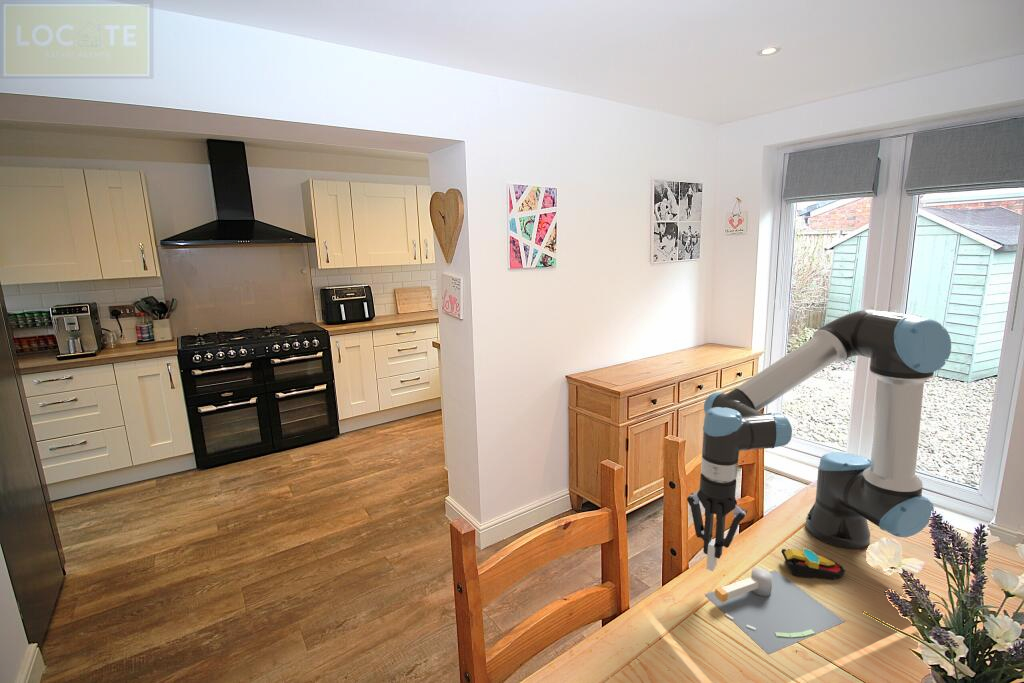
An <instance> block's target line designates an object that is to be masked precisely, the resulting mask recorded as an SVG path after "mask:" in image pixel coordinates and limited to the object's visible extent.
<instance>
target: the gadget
mask: <svg viewBox="0 0 1024 683" xmlns="http://www.w3.org/2000/svg"><path fill="white" fill-rule="evenodd" d="M780 551H781V554H782V556H783V558H784V561H785V563H786V565H787V567H788V569H789V571H790V574H791V575H792V576H795V577H800V578H806V579H819V580H828V581H829V580H830V581H833V580H834V579H840V578H841V577H842V576H844V574H845V572H846V570H845V569H844V568H843V566H842V565H841V564H839V563H838V562H836V561H835V560H833V559H832V558H828V557H824V556H823V555H818V554H817V553H815V552H814V551H813V550H812V549H809V548H805V547H803V548H802V549H801V550H798V549H797V550H796V549H793V548H792V549H791V548H790V549H787V550H786V549H785V548H782V549H781V550H780Z"/></svg>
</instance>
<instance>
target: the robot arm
mask: <svg viewBox="0 0 1024 683" xmlns="http://www.w3.org/2000/svg"><path fill="white" fill-rule="evenodd" d="M951 340H952V339H951V336H950V334H949V331H948V330H947V328H945V326H943V325H942V324H941V323H940V322H939V321H937V320H933V319H930V318H926V317H923V316H919V315H917V314H915V315H912V314H906V313H899V312H898V313H897V312H892V311H885V310H879V309H863V310H858V311H854V312H851V313H848V314H845V315H842V316H840V317H839V318H836V319H834V320H832V321H830V322H828V323H826V324H824V325H823V326H822V327H820V328H818V329H817V330H815V331H814V332H813V334H812V338H811V339H809V340H808V341H805V343H803V344H801V345H799V346H798V347H797V348H794V350H792V351H790V352H789V353H787V354H785V355H784V356H783V357H781V358H780V359H778V360H777V361H775V362H774V363H772V364H770V365H769V366H767V367H766V368H765V369H762V370H761V371H760V372H758V373H757V374H755V375H753V376H752V377H750V378H749V379H748V380H746V381H744V382H743V383H742V384H739V385H738V386H737V387H735V388H734V389H732V390H730V391H729V392H728V393H724V392H718V391H717V392H712V393H711V394H709V395H708V396H707V397H706V399H705V401H704V404H703V412H704V413H705V415H704V420H703V426H702V431H703V433H702V435H703V436H702V449H701V450H702V451H701V452H702V453H701V464H700V465H701V466H700V472H701V474H700V478H699V480H700V481H699V490H698V491H697V493H694V492H693V493H692V492H691V493H690V495H689V496H688V497H687V498H686V501H687V503H688V505H689V507H690V510H691V517H692V521H693V526H694V530H695V536H696V537H697V538H699V539H700V538H701V539H702V540H703V549H702V551H703V554H705V555H707V556H706V569H707V570H708V571H711V572H714V570H715V569H716V567H717V565H718V564H717V563H718V559H720V558H721V556H722V554H723V548H724V547H725V548H726V549H727V548H729V547H730V545H731V544H732V542H733V540H734V536H736V532H737V531H738V529H739V528H738V527H739V525H740V523H741V521H743V520H744V519H745V517H746V515H747V513H748V511H747V510H746V509H744V508H741V507H740V506H738V502H737V499H736V491H737V477H738V465H739V456H740V452H741V451H742V452H743V451H751V450H753V451H754V450H763V449H775V448H779V447H784V446H786V445H788V444H789V443H790V442H791V440H792V433H793V428H792V425H791V422H790V421H789V419H788V418H787V416H785V415H784V414H782V413H775V412H769V413H763V412H760V410H762V409H764V408H765V407H767V406H768V405H769V404H771V403H773V402H775V401H776V400H778V399H779V398H780V397H783V396H784V395H785V394H787V393H788V392H790V391H792V390H793V389H795V388H797V386H799V385H801V384H802V383H804V382H805V381H806V380H808V379H810V378H812V377H813V376H814V375H816V374H817V373H819V372H821V371H822V370H824V369H825V368H826V367H828V366H830V365H832V363H835V362H836V363H843V362H844V361H846V360H847V359H849V358H852V357H855V356H856V357H857V356H860V357H861V356H863V357H865V358H869V359H870V362H869V371H870V373H871V374H872V375H874V376H875V377H876V391H875V404H874V417H873V418H874V419H873V430H872V431H873V432H872V443H871V444H872V447H871V460H870V459H869V458H867V457H866V456H863V455H859V454H855V453H849V452H828V453H825V454H824V455H822V456H821V458H820V460H819V464H818V467H817V469H818V470H817V481H816V491H815V501H814V502H813V504H812V506H811V508H810V510H809V512H808V513H807V515H806V519H805V527H806V529H807V531H808V532H809V533H810V534H811V535H812V536H813V537H815V538H816V539H818V540H820V541H822V542H824V543H826V544H828V545H830V546H831V545H832V546H835V547H838V548H843V549H852V550H853V549H855V550H857V549H863V548H865V547H866V546H868V545H870V540H871V531H870V528H869V523H868V522H870V523H871V524H874V525H875V526H876V527H879V529H880V530H882V531H883V532H886V533H888V534H890V535H892V536H894V537H897V538H909V537H912V536H914V535H915V536H916V535H917V534H919V533H920V532H922V531H923V530H924V529H926V527H927V526H928V525H929V523H930V522H929V518H930V516H931V511H932V510H935V506H934V505H933V502H932V501H931V500H930V499H929V498H928V497H925V496H923V495H922V493H923V486H924V485H923V481H922V480H921V479H920V477H918V475H916V469H917V459H918V450H919V449H918V447H919V437H920V429H921V419H922V418H921V417H922V416H921V415H922V407H923V406H922V405H923V395H924V384H925V382H926V381H928V380H930V379H931V378H932V377H934V374H935V372H937V371H939V370H940V369H941V368H943V367H944V366H945V365H946V361H947V360H949V358H950V356H951V352H952V341H951ZM700 505H702V507H703V509H704V521H703V516H702V515H703V514H702V510H701V506H700ZM732 511H733V513H732V515H733V517H734V518H733V520H732V521H731V524H730V526H729V529H728V531H727V534H726V536H725V528H726V517H727V515H728V514H729V513H731V512H732ZM715 516H716V517H715ZM714 517H715V518H716V525H715V526H716V527H715V537H714V538H715V539H714V538H713V536H714V535H713V531H714V530H713V528H714V519H715V518H714Z"/></svg>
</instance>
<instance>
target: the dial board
mask: <svg viewBox="0 0 1024 683" xmlns="http://www.w3.org/2000/svg"><path fill="white" fill-rule="evenodd" d="M769 572H770V573H771V574H772V577H773V579H772V590H771V594H770V595H769V596H761V595H758V594H756V593H754V592H753V591H749V592H746V593H744V594H741V595H738V596H735V597H733V598H730V599H727V601H725V602H721V601H720V600H719V599H718V598H717V597H715V590H713V591H711V592H707V593H706V594H704V596H705V597H706V598H707V599H708V600H709V601H710V602H712V604H714V605H715V606H716V607H717V608H718V609H719V610H721V612H722V613H723V614H724V616H726V617H727V618H728V619H730V620H731V621H732V622H733V623H734V624H735V625H736V626H737V627H738V628H739V629H741V631H743V632H744V633H745V634H746V635H747V636H748V637H749V638H750V639H751V640H752V641H754V642H755V644H756V645H758V647H760V648H761V649H762V650H763V651H764V652H765V653H766V655H770V654H772V653H775V652H777V651H779V650H782V649H785V648H788V647H789V646H791V645H794V644H796V643H798V642H800V641H801V642H802V641H804V640H805V639H807V638H810V637H812V636H815V635H817V634H820V633H821V632H823V631H826V630H828V629H832V628H833V627H836V626H839V625H840V624H842V623H843V624H844V623H845V622H846V620H844V619H843V618H841V617H840V616H839V615H837V614H836V613H835V612H834V611H832V610H830V609H829V608H828V607H826V605H823V603H821V602H819V601H818V600H817V599H815V598H814V597H813V596H811V595H810V594H808V593H807V592H806V591H804V590H803V589H802V588H800V587H799V586H798V585H797V584H795V583H793V581H791V580H789V579H788V578H787V577H785V576H784V575H783V574H781V573H780V572H778V571H777V570H776V569H774V570H771V571H769Z"/></svg>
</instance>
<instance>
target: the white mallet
mask: <svg viewBox="0 0 1024 683" xmlns="http://www.w3.org/2000/svg"><path fill="white" fill-rule="evenodd" d="M750 575H751V576H750V577H748V578H745V579H742V580H739V581H736V582H733V583H730V584H728V585H725V586H718V587H715V589H714V591H715V597H717V598H718V599H719V600H720V601H721V602H725V601H727V599H730V598H733V597H735V596H738V595H741V594H744V593H746V592H749V591H753V592H754V593H756V594H758V595H761V596H769V595H770V594H771V590H772V579H773V577H772V574H771V573H770V571H768V570H767V569H764V568H759V567H757V568H753V569H752V570H751V574H750Z"/></svg>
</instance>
